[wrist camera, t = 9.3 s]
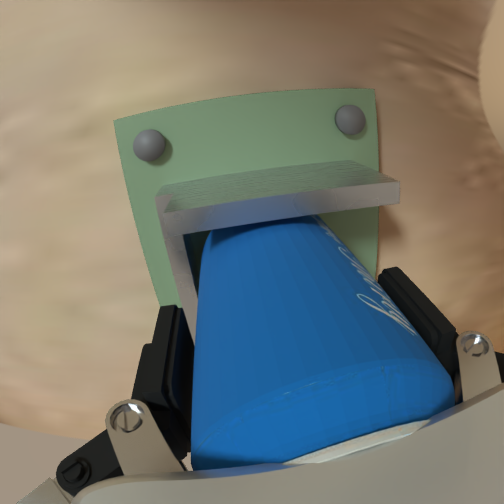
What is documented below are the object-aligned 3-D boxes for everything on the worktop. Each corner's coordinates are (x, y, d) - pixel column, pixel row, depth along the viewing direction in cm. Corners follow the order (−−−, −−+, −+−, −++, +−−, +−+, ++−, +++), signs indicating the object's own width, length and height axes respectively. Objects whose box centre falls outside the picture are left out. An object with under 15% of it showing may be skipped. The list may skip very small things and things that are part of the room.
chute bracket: (162, 185, 14) (139, 217, 9) (351, 159, 14) (400, 181, 10) (201, 341, 17) (200, 401, 13) (349, 315, 18) (379, 367, 14)
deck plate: (119, 119, 13) (110, 121, 12) (365, 89, 13) (378, 88, 12) (181, 350, 19) (179, 366, 18) (364, 319, 19) (372, 332, 18)
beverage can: (353, 238, 16) (506, 422, 5) (280, 327, 18) (337, 532, 7) (250, 166, 14) (367, 375, 3) (178, 276, 16) (144, 522, 5)
